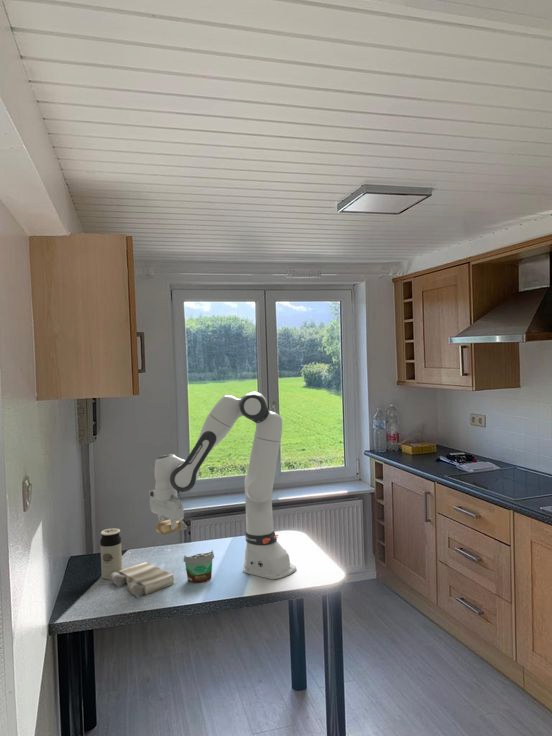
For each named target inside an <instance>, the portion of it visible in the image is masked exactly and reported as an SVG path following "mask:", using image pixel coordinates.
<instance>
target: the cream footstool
mask: <svg viewBox="0 0 552 736" xmlns="http://www.w3.org/2000/svg"><path fill="white" fill-rule="evenodd" d="M108 580H109V581H110V582H111V583H112V584H115V585H116V586H118V587H122V586H123V585H124V584H127V588H126V589H127V592H128V593H130V594H132V595H133V596H135V597H136V598H140V597H142V596H143V595H148V593H149V594H151V593H153V592H156V591H159V590H161V589H164V588H167V587H169V586H172V585H174V574H173V573H170V572H169V571H166V570H164V569H162V568H160V567H158V566H156V565H154V564H153V563H150V562H147V561H144V562H142V563H138V564H135V565H132V566H129V567H127V568H124V569H123V568H122V570H120V571H119V572H118V573H116V572H113V573H112V574H111V575H110V577H109V579H108Z"/></svg>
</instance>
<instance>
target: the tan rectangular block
mask: <svg viewBox="0 0 552 736" xmlns="http://www.w3.org/2000/svg"><path fill="white" fill-rule="evenodd" d="M185 524H186V523H185V522H184V520H179V521H176V524H175V529H173V530H172V529H170V526H169V525H171V521H170V519H166V520H164V521H162V522H160V521H158V522H155V529H156V530H155V531H156V533H159V534H161V535H164V536H165V535H168V534H171V533H175V532H179V531H181V530H183V529H184V528H185V526H186V525H185Z"/></svg>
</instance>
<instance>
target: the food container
mask: <svg viewBox="0 0 552 736" xmlns="http://www.w3.org/2000/svg"><path fill="white" fill-rule="evenodd" d="M214 558H215V553H214V550H211V551H209V552H206V553H197V554H194V555H192V556H191V555H190V556H186V555H184V557H183V562H184V563H185V570H186V577H187V582H188V583H193V584H202V583H206V582H209V581H210V580H211V579H212V571H213V570H212V569H213V559H214Z"/></svg>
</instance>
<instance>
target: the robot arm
mask: <svg viewBox="0 0 552 736" xmlns="http://www.w3.org/2000/svg"><path fill="white" fill-rule="evenodd" d="M241 417H245V418H246V419H248V420H249V421H252V422H254V423H255V425H256V426H255V431H254V437H253V442H252V445H251V446H252V447H251V450H250V451H251V452H250V457H249V462H248V463H249V464H248V468H247V469H248V470H247V473H246V474H245V477H244V498H245V499H244V501H245V502H244V503H245V524H246V525H245V526H246V530H245V542H246V546H245V551H244V552H245V553H244V563H243V569H242V572H243V573H245V574H249V575H253V576H257V577H262V578H265V579H268V580H269V579H270V580H276V579H283V578H284V577H287V576H289V575H292V574H293V573H294V572H295V571H296V570H297V566H296V565H294V564H292V563H291V561H290V556H289V555H290V554H289V553H288V552H287V550H286V549H285V548H284V547H283V546H282V545H281V544H280V542H279V541H278V540H277V538H279V537H278V536H279V535H278V534H276V532H275V530H274V520H273V519H274V517H273V516H274V515H273V512H274V511H273V502H272V501H273V500H272V494H273V490H274V489H273V488H274V483H275V477H276V468H277V461H278V456H279V451H280V445H281V439H282V434H283V419H282V416H281V415H279V413H277V412H274V411H271V410H269V408H268V402H267V399H266V397H265V396H264V395H263V394H262V393H260V392H258V391H250V392H248V393H246V394H245V395H244V396H241V397H239V398H237V397H235V396H233V395H229V394H225V395H223V396H222V397H221V398H220V399H219V400H218V402H216V404H214V406H213V407H212V409H211V410H210V411H209V414H208V415H207V417H206V419H205V420H204V423H203V425H202V426H201V427H202V428H201V430H200V432H199V436H198V439H197V441H196V442H195V445H194V447H193V448H192V450H191V451H190V453H189V454H188V456H187V457H186V459H185V458H180V457H178V456H177V455H176V454H174V453H165V454H162V455H159V456H158V457H157V458H156V459H155V463H154V479H155V485H154V489H152V490H149V491H148V495H149V497H150V498H149V508H150V511H151V513H153V514H156V515H157V518H158V522H162V521H165V518H167V519H168V520H170V521H171V525H169V526H170V529H172V530H173V529H175V524H176V521H179V520H181V521H183V520H184V517H185V512H184V505H183V501H181V499H180V497H178V492H179V493H186V492H188V491H191V490H192V489H193V487H194V486H195V484H196V482H197V480H198V478H199V477H200V469H201V466H202V465H203V463H204V461H205V460H206V458H207V457H208V455H209V454H210V453H211V452H212V450H213V449H214V448H215V447H216V446H218V444H219V443H221V442H222V441H223V439H224V438H226V436H227V435H228V434H229V433H230V431H231V430H232V428H233V426H234V425H235V423H236V422H237V420H238V419H240V418H241Z"/></svg>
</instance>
